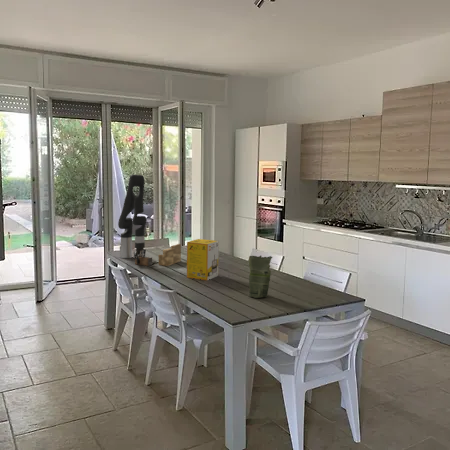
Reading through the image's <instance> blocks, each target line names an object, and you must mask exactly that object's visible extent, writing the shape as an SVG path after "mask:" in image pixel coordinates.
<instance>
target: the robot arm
mask: <svg viewBox="0 0 450 450" xmlns="http://www.w3.org/2000/svg"><path fill="white" fill-rule="evenodd" d="M127 184H128V185H127V190H126V194H125V198H124V201H123V205H122V211H121V213H120V216H119V219H118V222H117V226H118V228H119V229H120V230H124V231H123V232H121V233H120V245H119V258H121V259H131V258H133V257H134V260H135V259H137V264H136V265H138V264H140V257H146V252H147V249H146V248H145V247H146V246H145V245H146V244H145V243H146V239H145V230H146V225H147V222H148V221H147V220H148V219H147V217H146V216H145V215H139V214H143V213H144V192H145V176H144V175H143V174H130V176H129V178H128V183H127ZM134 187H135V188H136V187H139V188H138V189H139V190H138V193H137V195H136V194H135V193H134ZM133 211H134V212H133ZM132 212H133V216H132V217H133V218H131V217H128V216H129V214H131V213H132ZM133 225H134V226H140V227H137V228H135V229H134V248H135V251H133ZM144 248H145V249H144Z"/></svg>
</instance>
